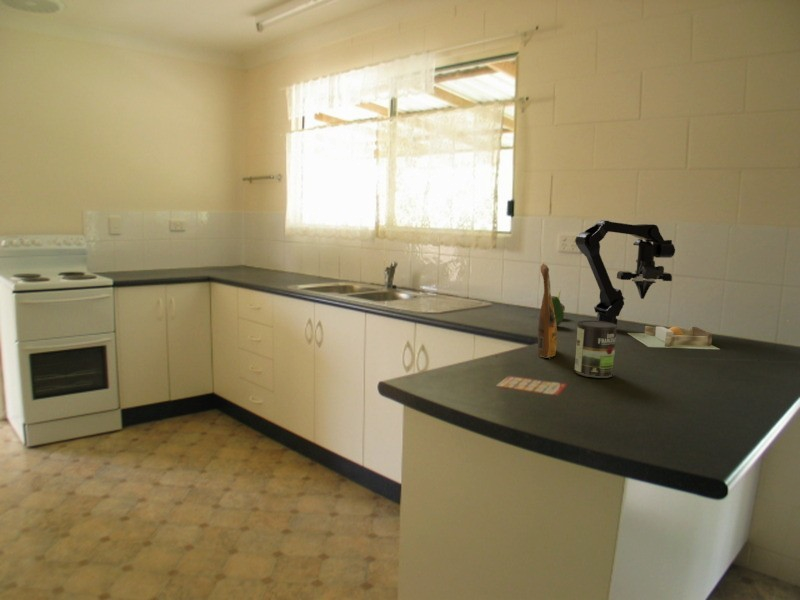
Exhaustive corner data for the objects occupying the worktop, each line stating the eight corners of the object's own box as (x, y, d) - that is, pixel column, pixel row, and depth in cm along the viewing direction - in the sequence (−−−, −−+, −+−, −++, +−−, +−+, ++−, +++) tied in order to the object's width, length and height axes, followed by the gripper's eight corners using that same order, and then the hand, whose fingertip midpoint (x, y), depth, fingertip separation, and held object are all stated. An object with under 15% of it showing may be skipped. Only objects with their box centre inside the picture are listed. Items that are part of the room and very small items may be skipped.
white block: (665, 342, 197) (666, 331, 196) (655, 336, 206) (656, 326, 205) (672, 342, 197) (673, 332, 196) (662, 336, 206) (663, 326, 205)
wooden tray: (665, 346, 191) (666, 335, 191) (643, 333, 212) (644, 323, 211) (716, 348, 190) (718, 336, 190) (689, 335, 211) (690, 324, 210)
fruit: (565, 329, 220) (567, 297, 218) (544, 328, 220) (546, 297, 218) (560, 325, 228) (562, 294, 226) (540, 324, 228) (541, 294, 226)
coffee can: (621, 376, 157) (625, 325, 155) (593, 381, 152) (597, 328, 150) (593, 367, 166) (596, 319, 164) (565, 371, 161) (569, 321, 159)
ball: (682, 325, 198) (688, 338, 198) (676, 322, 203) (681, 335, 203) (668, 332, 198) (674, 344, 199) (662, 329, 203) (668, 341, 204)
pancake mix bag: (531, 359, 173) (537, 266, 169) (536, 345, 191) (541, 261, 187) (555, 361, 171) (561, 267, 167) (557, 347, 189) (563, 262, 185)
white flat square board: (648, 348, 191) (648, 346, 191) (626, 334, 213) (626, 332, 213) (720, 350, 190) (720, 349, 190) (690, 336, 211) (691, 335, 211)
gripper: (627, 258, 210) (624, 301, 213) (680, 260, 209) (675, 302, 212) (617, 256, 221) (614, 296, 224) (667, 257, 220) (664, 298, 223)
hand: (642, 298), depth 220 cm, fingers closed
